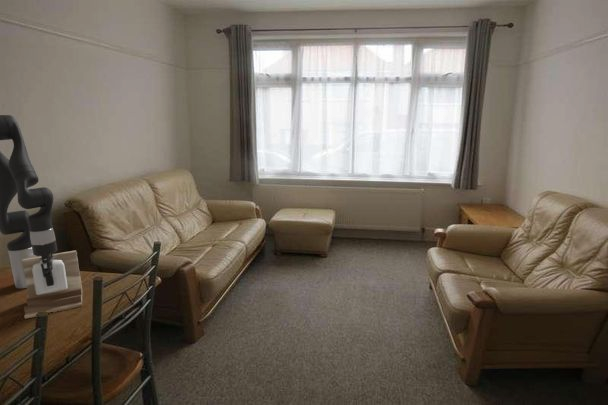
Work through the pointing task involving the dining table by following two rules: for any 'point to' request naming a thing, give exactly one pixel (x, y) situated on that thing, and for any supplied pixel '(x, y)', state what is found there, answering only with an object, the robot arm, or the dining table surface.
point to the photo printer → (58, 278)
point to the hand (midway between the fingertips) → (51, 282)
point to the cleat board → (58, 298)
